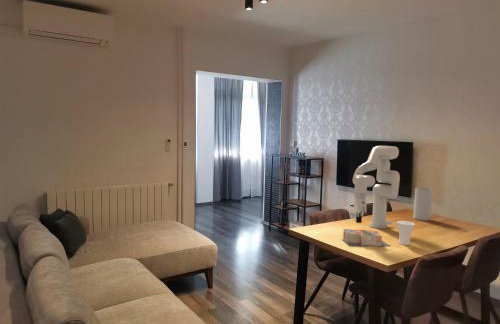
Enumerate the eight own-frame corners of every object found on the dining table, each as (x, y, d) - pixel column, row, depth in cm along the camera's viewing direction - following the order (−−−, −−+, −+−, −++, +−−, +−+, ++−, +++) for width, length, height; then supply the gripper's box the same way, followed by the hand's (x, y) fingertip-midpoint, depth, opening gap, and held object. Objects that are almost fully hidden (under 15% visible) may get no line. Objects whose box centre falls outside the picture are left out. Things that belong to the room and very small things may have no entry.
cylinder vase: (411, 219, 300) (414, 188, 298) (414, 216, 311) (417, 187, 308) (428, 221, 293) (431, 190, 291) (431, 218, 304) (433, 189, 301)
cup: (415, 246, 227) (416, 225, 226) (397, 245, 229) (398, 224, 227) (410, 241, 237) (412, 221, 236) (393, 240, 239) (395, 220, 238)
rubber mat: (379, 239, 240) (379, 239, 240) (390, 246, 227) (390, 245, 227) (341, 239, 236) (341, 239, 236) (350, 246, 223) (350, 246, 223)
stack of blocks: (342, 238, 239) (345, 244, 227) (343, 228, 239) (346, 234, 227) (376, 240, 237) (381, 246, 225) (377, 230, 237) (382, 236, 224)
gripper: (371, 197, 234) (369, 225, 236) (360, 193, 249) (359, 219, 250) (359, 197, 233) (358, 225, 235) (350, 193, 247) (348, 219, 249)
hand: (358, 222), depth 242 cm, fingers closed
